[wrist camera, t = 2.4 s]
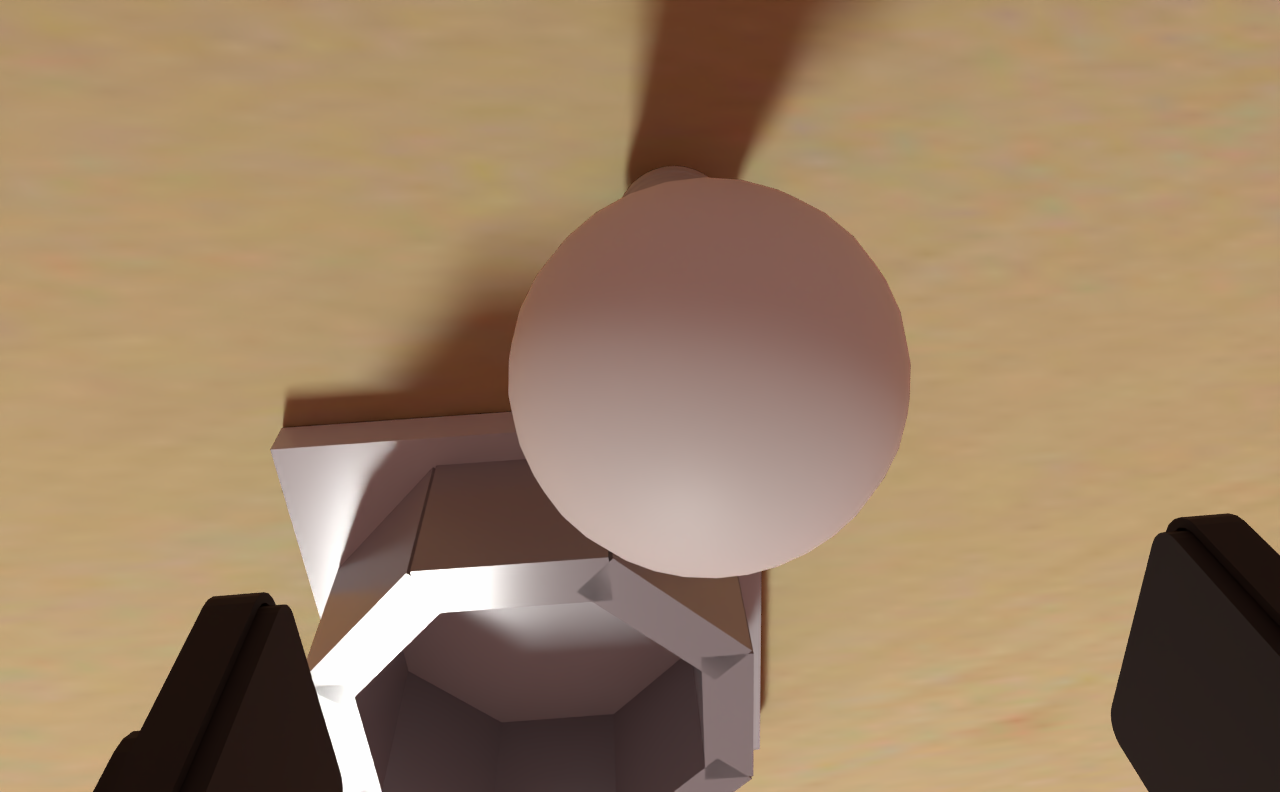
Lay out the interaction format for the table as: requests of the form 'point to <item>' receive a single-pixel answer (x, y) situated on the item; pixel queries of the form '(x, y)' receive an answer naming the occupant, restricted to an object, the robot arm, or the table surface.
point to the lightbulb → (709, 376)
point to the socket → (505, 626)
